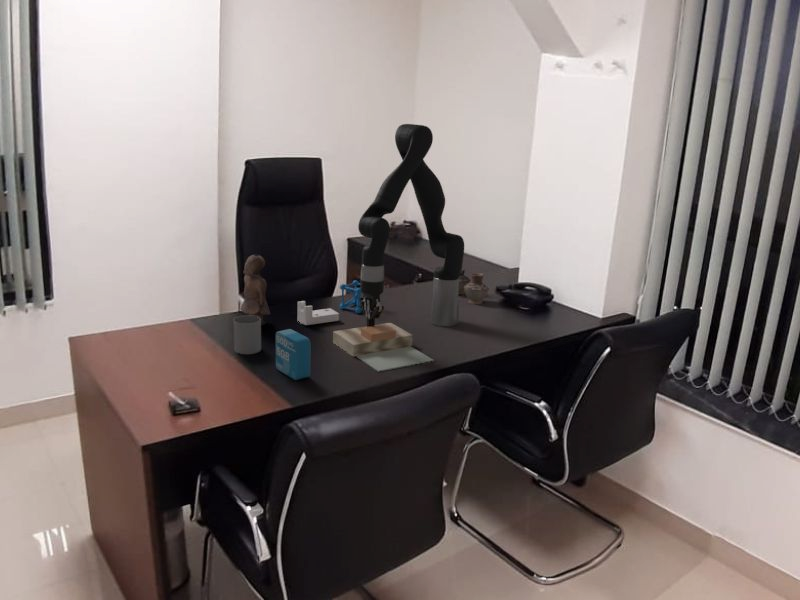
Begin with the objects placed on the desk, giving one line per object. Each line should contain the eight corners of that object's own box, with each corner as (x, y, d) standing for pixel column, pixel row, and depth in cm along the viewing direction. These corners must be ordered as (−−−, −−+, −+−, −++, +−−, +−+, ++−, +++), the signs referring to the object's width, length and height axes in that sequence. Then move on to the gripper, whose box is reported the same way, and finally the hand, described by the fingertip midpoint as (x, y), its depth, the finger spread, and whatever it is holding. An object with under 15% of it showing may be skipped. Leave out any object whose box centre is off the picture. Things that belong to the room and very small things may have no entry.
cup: (237, 355, 211) (237, 324, 208) (231, 346, 218) (230, 317, 215) (264, 352, 215) (264, 321, 212) (257, 343, 222) (256, 314, 219)
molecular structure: (338, 309, 262) (338, 284, 259) (354, 303, 270) (355, 279, 267) (358, 314, 256) (359, 289, 253) (374, 308, 264) (375, 283, 261)
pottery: (471, 307, 272) (473, 278, 269) (437, 291, 293) (439, 264, 289) (494, 304, 277) (496, 275, 274) (459, 288, 298) (461, 262, 295)
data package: (275, 368, 203) (275, 330, 199) (288, 365, 206) (288, 327, 202) (297, 381, 194) (297, 342, 191) (310, 378, 197) (311, 339, 194)
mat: (410, 347, 225) (410, 346, 225) (433, 361, 214) (433, 360, 214) (356, 356, 215) (356, 355, 214) (378, 371, 204) (378, 370, 204)
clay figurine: (234, 322, 242) (232, 252, 234) (259, 317, 248) (258, 249, 241) (253, 332, 232) (251, 260, 225) (278, 326, 239) (277, 256, 232)
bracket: (305, 327, 240) (305, 307, 238) (297, 321, 246) (297, 301, 244) (338, 323, 247) (339, 302, 245) (330, 317, 252) (330, 297, 250)
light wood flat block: (390, 333, 237) (390, 322, 236) (412, 346, 226) (412, 335, 225) (333, 342, 226) (333, 331, 225) (353, 356, 214) (353, 344, 213)
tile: (384, 331, 227) (385, 324, 226) (395, 338, 221) (395, 330, 220) (360, 335, 222) (361, 327, 221) (371, 342, 216) (371, 334, 216)
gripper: (392, 281, 217) (390, 333, 222) (372, 272, 228) (370, 321, 233) (372, 284, 213) (370, 336, 218) (352, 274, 224) (351, 324, 229)
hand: (370, 328), depth 225 cm, fingers closed
